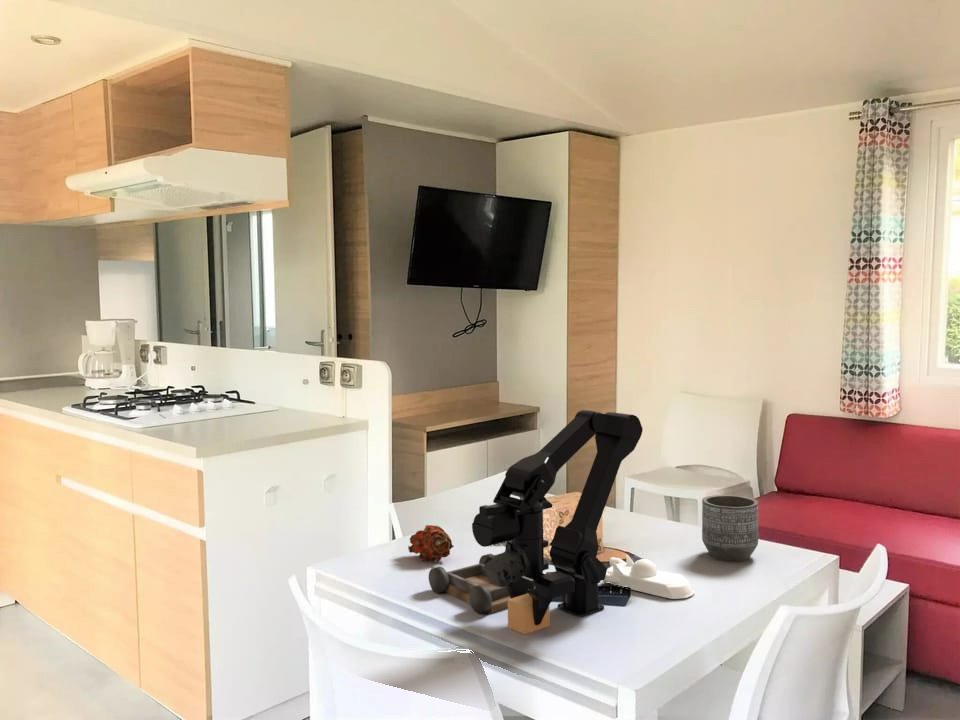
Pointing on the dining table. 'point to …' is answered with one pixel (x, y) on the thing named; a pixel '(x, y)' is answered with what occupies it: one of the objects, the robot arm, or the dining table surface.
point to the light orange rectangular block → (524, 615)
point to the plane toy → (647, 578)
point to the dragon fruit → (431, 543)
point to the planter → (730, 526)
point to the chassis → (472, 587)
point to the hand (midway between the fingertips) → (528, 620)
